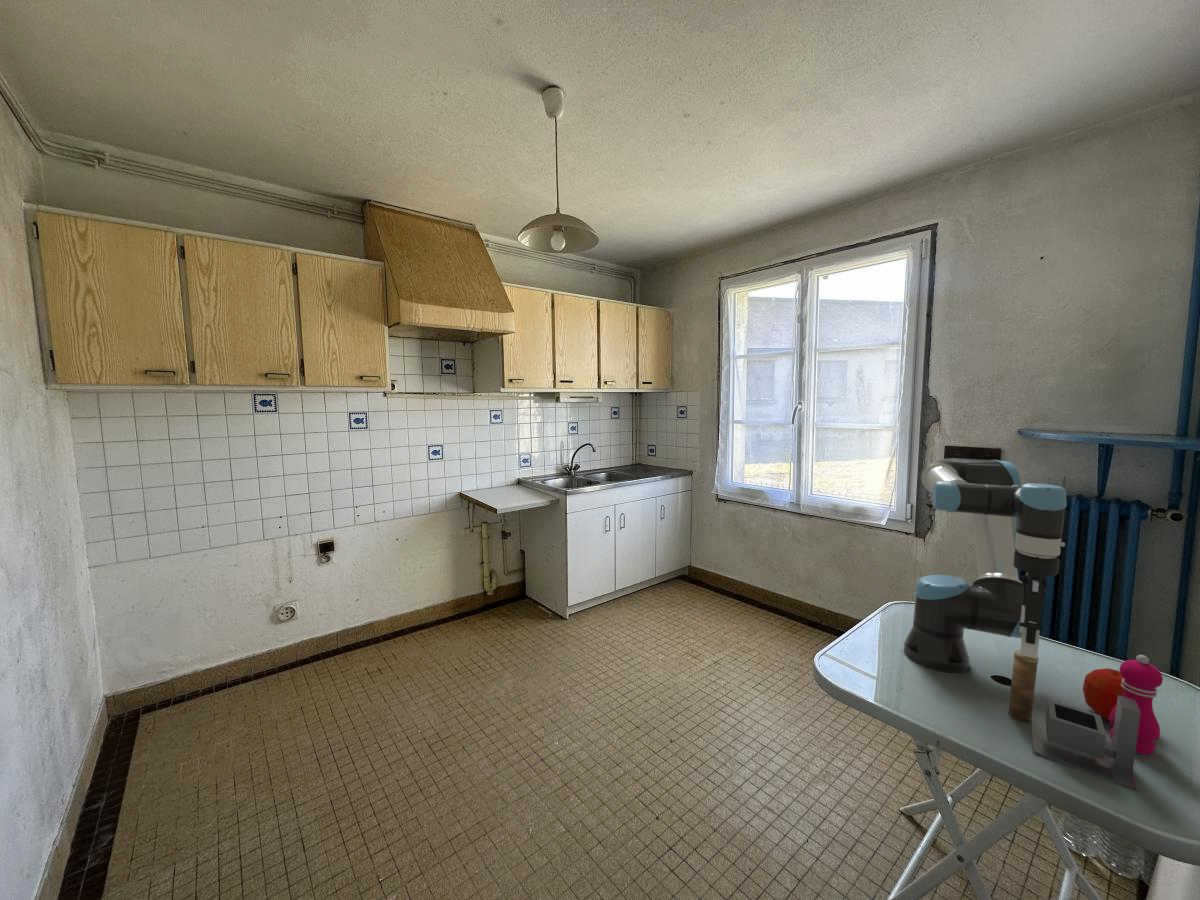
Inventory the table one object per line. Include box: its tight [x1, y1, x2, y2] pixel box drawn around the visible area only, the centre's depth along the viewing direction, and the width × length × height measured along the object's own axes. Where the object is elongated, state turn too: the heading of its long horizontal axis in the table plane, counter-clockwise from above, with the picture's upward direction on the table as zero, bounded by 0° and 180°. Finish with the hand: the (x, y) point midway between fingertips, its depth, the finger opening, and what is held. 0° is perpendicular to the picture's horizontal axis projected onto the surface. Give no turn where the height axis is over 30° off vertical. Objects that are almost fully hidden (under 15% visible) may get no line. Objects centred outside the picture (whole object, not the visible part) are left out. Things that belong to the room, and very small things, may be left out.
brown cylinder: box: [1008, 649, 1039, 723], centre depth 110 cm, size 4×4×15 cm
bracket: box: [1031, 695, 1141, 791], centre depth 98 cm, size 14×11×14 cm
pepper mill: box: [1108, 654, 1164, 755], centre depth 101 cm, size 7×7×20 cm
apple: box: [1082, 668, 1124, 721], centre depth 110 cm, size 10×10×12 cm
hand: (1027, 644), depth 108 cm, fingers open, 13 cm apart
